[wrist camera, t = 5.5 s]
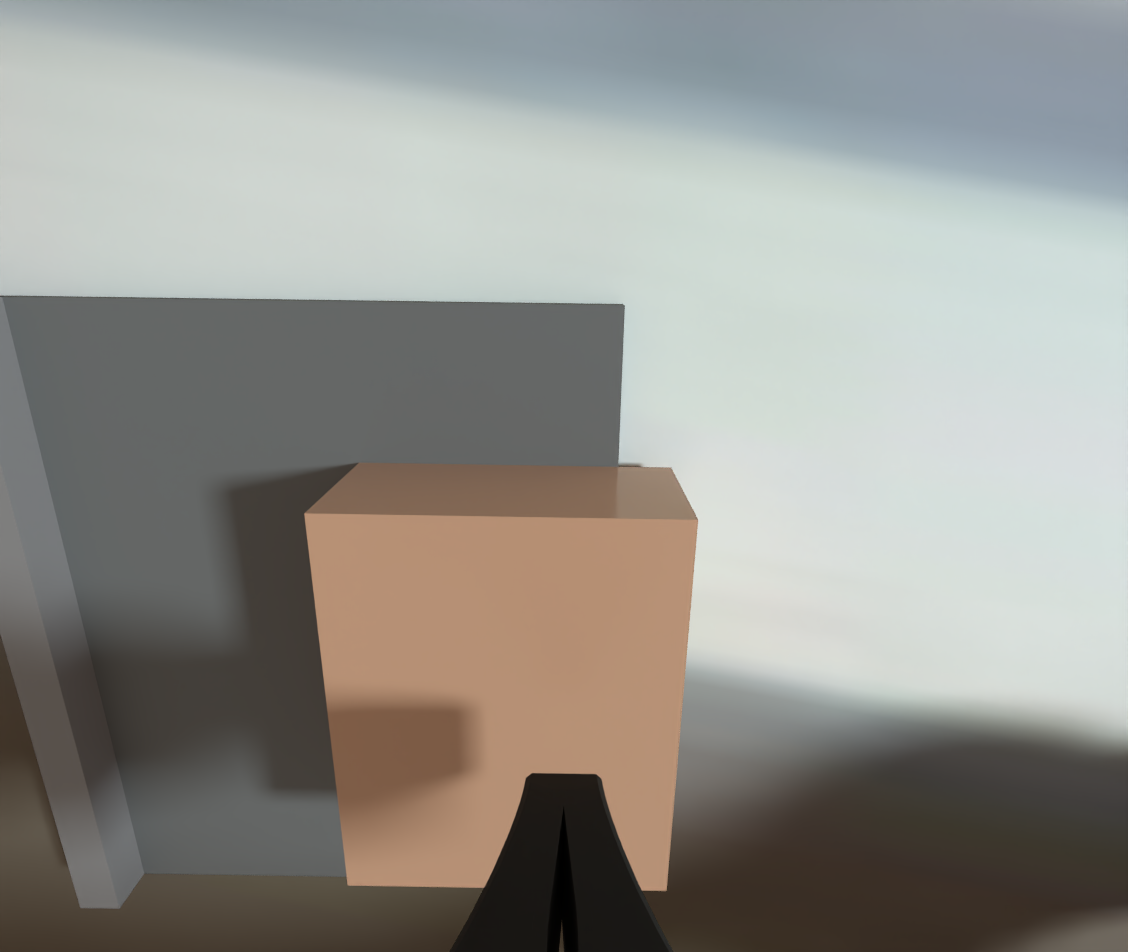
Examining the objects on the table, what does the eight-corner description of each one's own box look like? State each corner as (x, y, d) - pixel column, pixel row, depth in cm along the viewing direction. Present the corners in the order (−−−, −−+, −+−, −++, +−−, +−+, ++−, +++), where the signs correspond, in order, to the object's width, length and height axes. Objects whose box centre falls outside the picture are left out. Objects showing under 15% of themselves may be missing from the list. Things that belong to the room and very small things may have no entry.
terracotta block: (697, 519, 13) (304, 513, 13) (666, 891, 16) (347, 885, 16) (670, 467, 16) (359, 462, 16) (649, 781, 20) (386, 777, 20)
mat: (622, 304, 16) (629, 308, 14) (600, 864, 21) (603, 916, 20) (-27, 295, 16) (-99, 298, 14) (119, 856, 21) (80, 908, 20)
